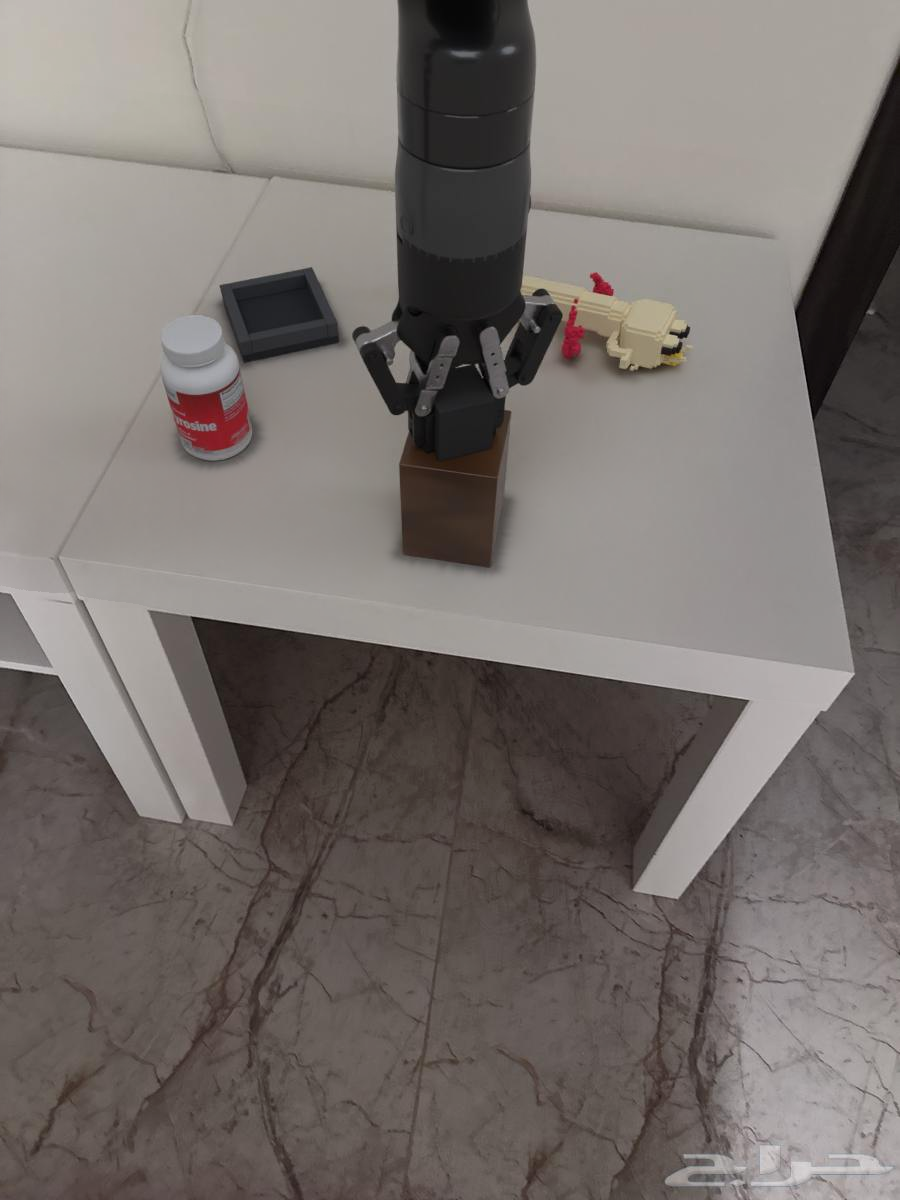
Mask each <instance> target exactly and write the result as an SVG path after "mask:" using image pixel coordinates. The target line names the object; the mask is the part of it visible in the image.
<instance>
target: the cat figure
mask: <svg viewBox="0 0 900 1200" xmlns="http://www.w3.org/2000/svg"><path fill="white" fill-rule="evenodd" d="M589 279H592V282H594V286H593V287H592V291H588V290H587V288H586V287H583V286H578V285H573V284H569V283H562V282H558V281H555V280H554V281H553V280H549V279H543V278H540V277H535V276H530V275H526V274H525V275H524V274H523V279H522V287H521V290H520V291H521V294H522V295H531V296H532V294H533V293H534V292H535V291H536V290H538V289H542V288H543V289H546V290H547V292H548V293H549V295H550V296H551V297H552V299H553V300H554V302H555V303H556V305H557V306H558V308H559V309H560V311H561V312H562V314H563V317H562V320H561V322H563V323H565V327H564V339H563V341H562V345H561V354H562V355H563V359H564V360H565V359H571V358H573V357H574V356H580V353H581V352H582V343H581V342H580V339H581V340H583V339H584V337H585V333H586V331H591V332H595V333H596V334H598V336H601V337H605V338H608V340H607V341H606V345H605V346H606V347H605V349H607V350H606V353H607V354H608V355H609V357H614V358H618V359H619V365H618V366H619V369H622V370H627V369H628V368H629V371H632V372H633V371H634V370H636V371H637V370H638V369H639V368H640V367H642V368H646V369H651V370H652V369H653V368H657V367H658V366H659V367H660V366H661V364H664V365H668V366H673V367H676V366H677V365H679V366H680V365H681V363H682V362H683V363H686V362H687V359H688V357H686V356H684V353H685V352H686V350H687V351H692V350H693V345H691V344H685V346H683V344H684V342H683V341H681V340H683V339H688V337H689V334H690V331H691V326H689V324H688V322H687V323H686V320H682V319H678V318H677V316H678V310H676V308H675V306H673V305H672V303H666V302H663V301H657V300H651V299H648V298H642V299H637V301H635V300H634V301H633V302H632V304H631V303H629V302H627V301H622V300H619V299H618V298H617V296H614V291H615V290H614V288H612V285H611V284H609V282H608V281H604V279H603V277H602V276H601V275H600V274H599V272H596V271H594V272H590V274H589ZM630 365H631V366H630ZM629 366H630V367H629Z"/></svg>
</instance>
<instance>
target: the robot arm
mask: <svg viewBox="0 0 900 1200" xmlns="http://www.w3.org/2000/svg"><path fill="white" fill-rule="evenodd" d="M528 2H529V1H528V0H396V3H397V49H396V51H397V52H396V76H395V77H396V79H395V80H396V106H397V107H396V109H397V149H396V150H397V151H396V159H395V166H394V167H395V168H394V200H395V201H394V202H395V230H396V232H395V234H396V256H397V257H396V260H397V261H396V263H397V264H396V265H397V288H398V289H397V290H398V299H397V303H396V306H395V308H394V309H393V311H392V314H391V320H390V321H389V322H387V323H385V324H383V325H381V326H378V327H377V328H375V329H373V330H371V329H370V328H369V327H368V326H365V325H361V326H358V327H356V328H355V329H354V330H353V331H352V335H351V336H352V337H351V338H352V340H353V342H354V344H355V346H356V349H357V351H358V353H359V355H360V357H361V359H362V361H363V363H364V365H365V367H366V369H367V371H368V373H369V375H370V377H371V378H372V379H371V380H373V382H374V385H375V386H376V388H377V390H378V392H379V394H380V396H381V398H382V400H383V401H384V404H385V406H386V408H387V409H388V411H389V413H390V415H393V416H400V415H403V414H404V413H405V412H407V427H408V428H407V429H408V433H409V432H410V434H411V436H412V438H413V440H414V442H415V444H416V446H417V447H421V446H422V448H423V450H424V452H425V453H426V452H430V451H434V450H435V413H434V411H433V406H434V402H435V399H436V396H437V393H438V390H442V389H443V387H444V384H445V381H446V377H447V374H448V371H449V370H452V369H454V368H458V367H462V366H467V365H475V366H476V365H477V366H478V371H479V373H480V374H481V376H482V378H483V380H484V381H485V383H486V385H487V387H488V388H489V390H490V392H491V394H492V395H493V397H494V399H495V411H494V425H493V436H495V435H496V428H499V427H501V425H502V423H503V421H504V410H506V409H505V408H506V399H507V398H506V397H507V395H509V393H510V390H511V388H513V387H515V386H517V385H518V384H519V385H520V386H524V387H525V386H528V385H530V384H531V383H533V381H534V379H535V377H536V375H537V373H538V371H539V369H540V367H541V364H542V362H543V360H544V359H545V356H546V354H547V352H548V350H549V347H550V345H551V343H552V341H553V339H554V337H555V335H556V333H557V331H558V328H559V326H560V324H561V322H562V321H561V320H562V317H563V314H562V312H561V311H560V309H559V308H558V306H557V305H556V303H555V302H554V300H553V299H552V297H551V296H550V295H549V293H548V292H547V290H546V289H543V288H542V289H538V290H536V291H535V292H534V293H533V294H532V296H531V295H522V294H521V291H520V290H521V287H522V279H523V275H524V266H525V257H526V244H527V236H528V235H527V234H528V222H529V214H530V211H531V208H532V207H531V206H532V195H531V189H532V161H531V160H532V159H531V138H532V126H533V116H534V104H535V103H534V102H535V92H536V79H537V77H536V76H537V46H536V45H537V43H536V37H535V30H534V25H533V22H532V18H531V14H530V8H529V3H528ZM518 322H519V323H518ZM517 323H518V326H517V329H516V331H515V333H514V336H513V338H512V340H511V343H510V345H509V347H508V349H507V351H506V353H505V357H504V355H503V351H502V348H501V345H502V343H503V342H504V340H505V339H506V338H507V336H508V335H509V334H510V333H511V331H512V330H513V329H514V328H515V326H516V325H517ZM399 342H402V343H403V344H404V346H406V347H407V348H408V349H410V353H409V357H408V362H409V369H408V372H407V377H406V380H405V382H396V379H395V378H394V375H393V373H392V371H391V369H390V366H392V365H393V364H394V359H395V357H396V351H395V348H396V346H397V344H398V343H399Z"/></svg>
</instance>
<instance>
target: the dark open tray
mask: <svg viewBox="0 0 900 1200" xmlns="http://www.w3.org/2000/svg"><path fill="white" fill-rule="evenodd" d="M219 289H220V294H221V299H222V304H223V306H224V307H223V308H224V309H225V313H226V315H227V318H228V321H229V324H230V327H231V329H232V332H233V336H234V339H235V342H236V344H237V347H238V350H239V352H240V355H241V358H242V362H243V363H248V362H252V361H257V360H261V359H267V358H271V357H277V356H281V355H285V354H290V353H295V352H300V351H305V350H309V349H314V348H318V347H323V346H327V345H328V346H329V345H332V344H333V345H334V344H337V343H340V337H339V336H340V335H339V326H338V321H337V319H336V316H335V315H334V312H333V310H332V308H331V306H330V304H329V301H328V299H327V296H326V294H325V292H324V290H323V288H322V286H321V283H320V281H319V279H318V277H317V275H316V273H315V271H314V268H313V267H312V266H311V267H305V268H302V269H297V270H296V269H295V270H290V271H285V272H281V273H275V274H271V275H265V276H264V275H263V276H259V277H253V278H249V279H244V280H239V281H233V282H228V283H222V284H219Z"/></svg>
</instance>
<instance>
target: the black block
mask: <svg viewBox="0 0 900 1200" xmlns="http://www.w3.org/2000/svg"><path fill="white" fill-rule="evenodd" d="M433 411H434V413H435V450H434V452H435V454H436V456H437V458H438V460H439V461H444V460H448V459H452V458H456V457H460V456H464V455H468V454H472V453H476V452H480V451H485V450H489V449H492V439H493V425H494V411H495V399H494V397H493V395H492V394H491V392H490V390H489V388H488V387H487V385H486V383H485V381H484V380H483V377H482V375H481V373H480V370H479V368H477V366H476V364H475V365H462V366H459V367H457V368H454V369H452V370H449V371H448V374H447V377H446V381H445V384H444V387H443V389H442V390H438V393H437V396H436V399H435V402H434V406H433Z"/></svg>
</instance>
